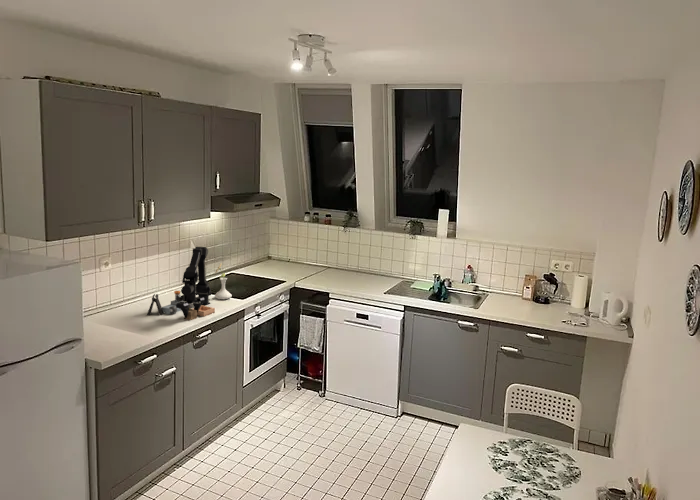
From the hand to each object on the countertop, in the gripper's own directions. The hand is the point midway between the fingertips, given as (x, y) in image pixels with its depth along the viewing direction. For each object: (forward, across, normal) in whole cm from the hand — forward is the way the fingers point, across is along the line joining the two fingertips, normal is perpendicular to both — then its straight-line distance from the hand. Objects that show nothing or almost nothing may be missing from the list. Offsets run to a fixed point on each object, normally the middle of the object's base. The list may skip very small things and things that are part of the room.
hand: (190, 316), depth 324 cm
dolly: (+1, -7, -17) cm, 18 cm away
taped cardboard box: (+1, 0, 0) cm, 1 cm away
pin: (-2, -9, -18) cm, 21 cm away
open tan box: (+1, -12, -1) cm, 12 cm away
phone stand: (+2, +5, -23) cm, 24 cm away
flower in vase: (+1, -45, -12) cm, 47 cm away
